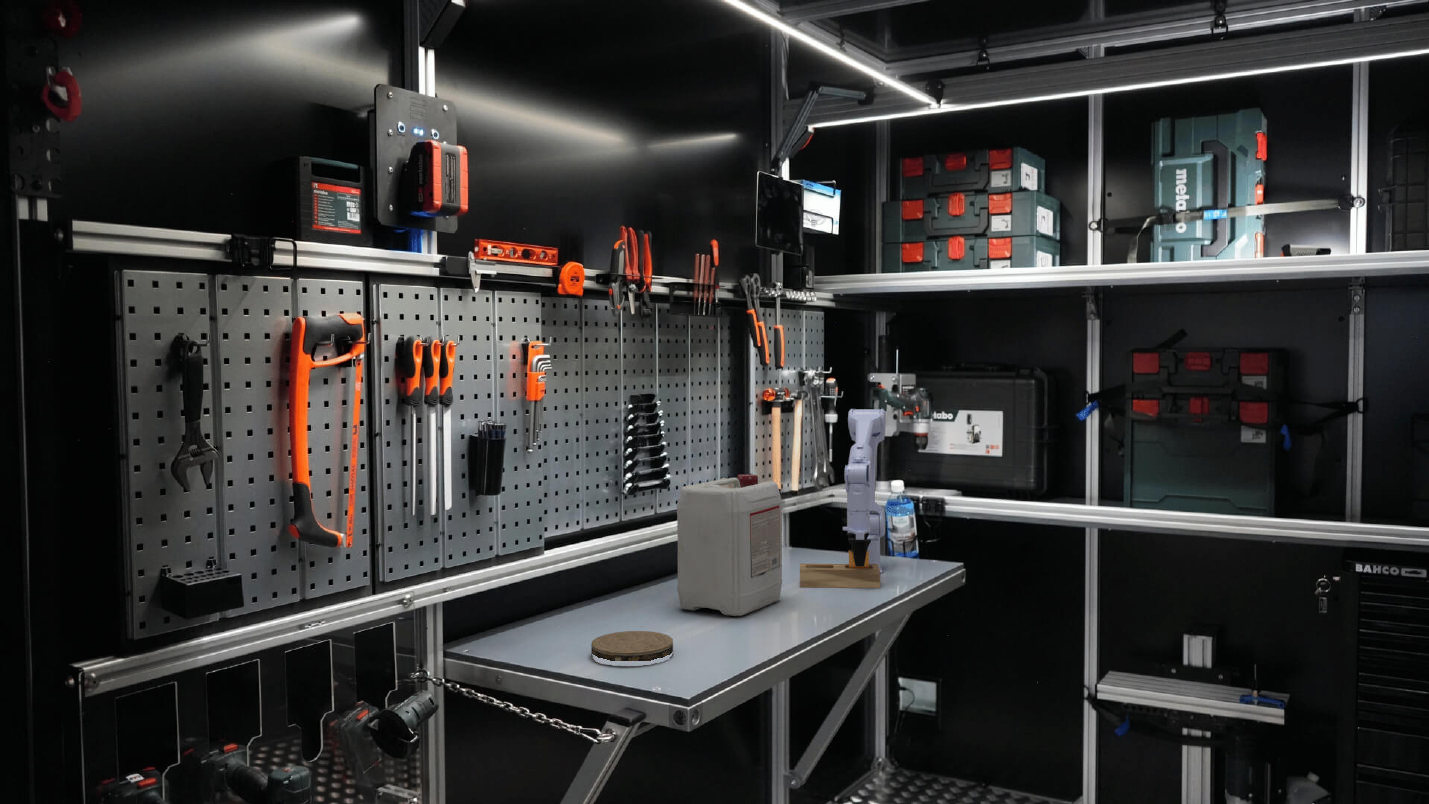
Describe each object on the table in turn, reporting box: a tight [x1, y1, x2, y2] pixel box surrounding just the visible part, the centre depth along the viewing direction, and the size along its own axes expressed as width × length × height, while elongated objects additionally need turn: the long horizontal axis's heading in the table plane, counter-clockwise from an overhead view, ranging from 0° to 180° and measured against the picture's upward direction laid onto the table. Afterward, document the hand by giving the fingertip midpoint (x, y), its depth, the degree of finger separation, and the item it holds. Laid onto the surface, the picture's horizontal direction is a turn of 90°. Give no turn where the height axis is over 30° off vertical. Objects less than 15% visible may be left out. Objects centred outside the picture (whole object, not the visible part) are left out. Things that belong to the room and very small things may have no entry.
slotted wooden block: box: [799, 563, 881, 589], centre depth 258 cm, size 8×20×4 cm, turn 85°
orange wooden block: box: [848, 549, 869, 568], centre depth 258 cm, size 2×5×7 cm, turn 85°
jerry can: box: [676, 474, 783, 617], centre depth 237 cm, size 24×19×30 cm
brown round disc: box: [590, 630, 674, 661], centre depth 197 cm, size 16×16×3 cm
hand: (858, 563), depth 258 cm, fingers open, 7 cm apart
